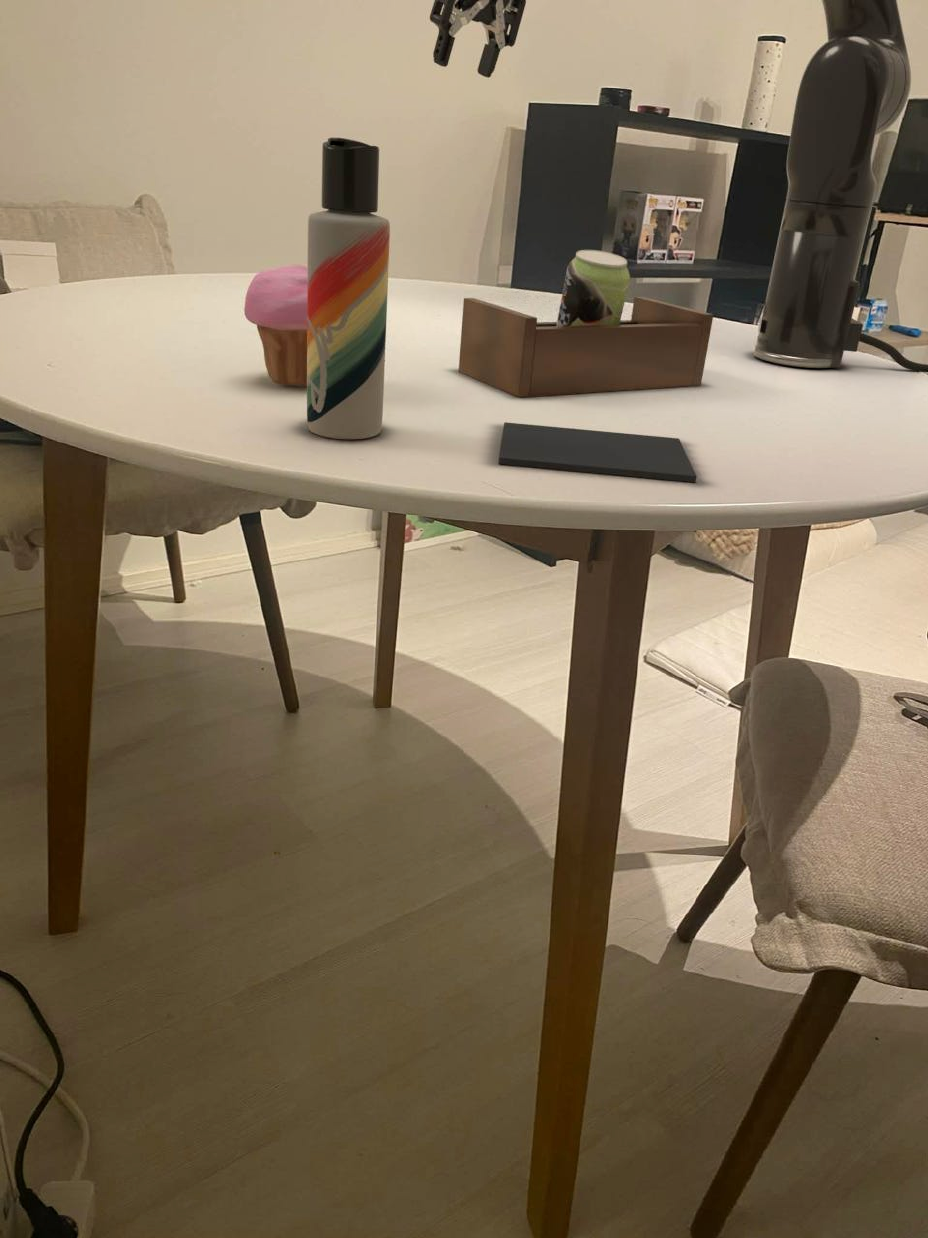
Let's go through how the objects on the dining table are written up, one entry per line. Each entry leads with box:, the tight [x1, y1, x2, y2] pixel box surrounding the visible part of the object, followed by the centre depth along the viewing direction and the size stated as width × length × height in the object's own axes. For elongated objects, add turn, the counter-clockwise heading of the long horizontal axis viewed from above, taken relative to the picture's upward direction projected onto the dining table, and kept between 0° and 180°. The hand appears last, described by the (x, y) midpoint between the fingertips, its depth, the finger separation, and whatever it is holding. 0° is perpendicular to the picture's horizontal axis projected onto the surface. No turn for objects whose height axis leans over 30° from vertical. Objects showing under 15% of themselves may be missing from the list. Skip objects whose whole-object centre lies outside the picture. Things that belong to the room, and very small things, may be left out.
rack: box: [458, 296, 714, 398], centre depth 97 cm, size 11×22×7 cm, turn 121°
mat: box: [498, 421, 698, 483], centre depth 74 cm, size 14×10×1 cm
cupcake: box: [243, 264, 308, 387], centre depth 85 cm, size 9×9×10 cm
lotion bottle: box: [306, 137, 391, 440], centre depth 70 cm, size 6×6×20 cm
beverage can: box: [556, 249, 631, 326], centre depth 96 cm, size 6×7×12 cm
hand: (462, 70), depth 134 cm, fingers open, 8 cm apart
